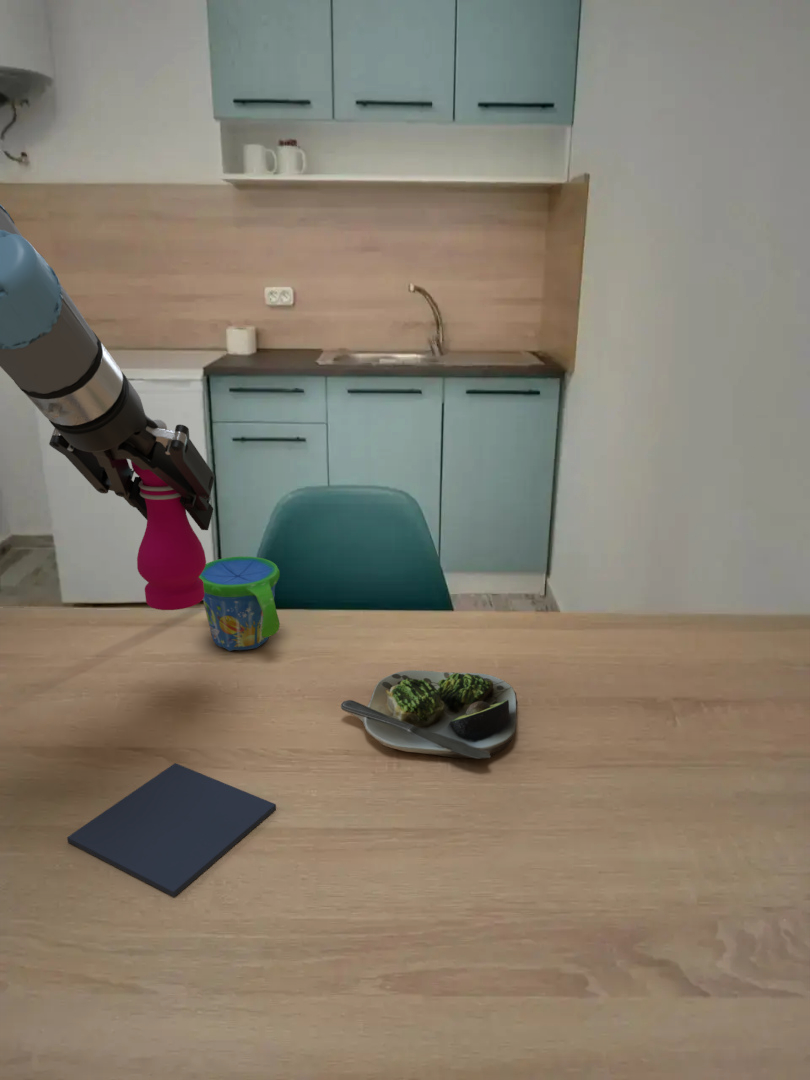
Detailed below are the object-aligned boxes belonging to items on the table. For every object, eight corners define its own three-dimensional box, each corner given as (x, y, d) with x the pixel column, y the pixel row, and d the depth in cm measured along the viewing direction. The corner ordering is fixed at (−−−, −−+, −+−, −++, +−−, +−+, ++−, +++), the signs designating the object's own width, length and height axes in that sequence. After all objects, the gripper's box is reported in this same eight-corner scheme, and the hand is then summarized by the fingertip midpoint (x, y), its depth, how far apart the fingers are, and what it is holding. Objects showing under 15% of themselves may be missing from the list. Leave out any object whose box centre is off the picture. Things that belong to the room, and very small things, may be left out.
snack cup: (304, 652, 108) (301, 579, 104) (229, 674, 102) (223, 598, 99) (253, 611, 120) (249, 545, 117) (183, 629, 114) (176, 560, 111)
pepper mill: (141, 616, 87) (119, 428, 81) (141, 590, 94) (120, 415, 87) (211, 608, 89) (195, 424, 83) (206, 583, 96) (191, 411, 89)
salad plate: (324, 760, 85) (322, 720, 83) (359, 676, 102) (358, 642, 100) (514, 777, 82) (516, 736, 81) (518, 687, 99) (520, 653, 97)
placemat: (67, 842, 73) (66, 837, 73) (175, 767, 84) (175, 762, 84) (174, 897, 67) (173, 891, 67) (276, 809, 78) (276, 803, 77)
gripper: (-25, 426, 71) (99, 543, 92) (171, 433, 68) (253, 553, 89) (4, 356, 75) (117, 484, 95) (192, 360, 72) (267, 492, 92)
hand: (183, 517), depth 92 cm, fingers closed on pepper mill, 5 cm apart
